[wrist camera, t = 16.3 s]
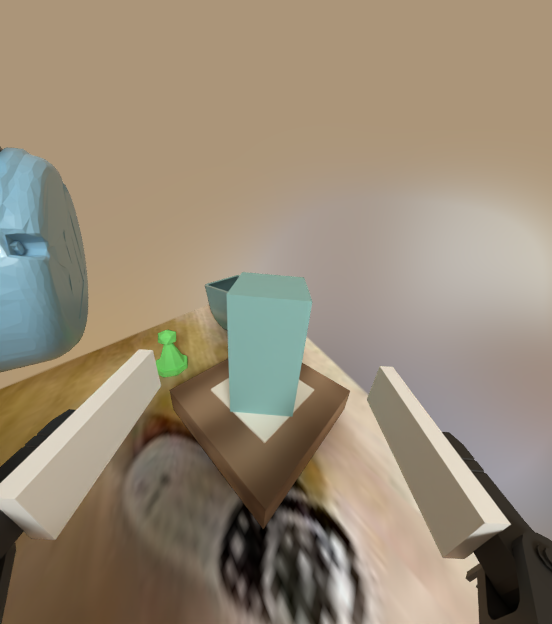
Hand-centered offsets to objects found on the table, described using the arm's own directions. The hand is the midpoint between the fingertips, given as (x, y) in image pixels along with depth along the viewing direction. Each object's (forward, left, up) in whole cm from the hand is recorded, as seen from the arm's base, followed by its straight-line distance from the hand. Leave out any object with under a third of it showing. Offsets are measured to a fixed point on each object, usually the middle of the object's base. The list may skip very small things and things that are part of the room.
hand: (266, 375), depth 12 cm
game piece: (-19, +1, -12) cm, 22 cm away
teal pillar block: (-5, +5, -9) cm, 11 cm away
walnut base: (-5, +5, -12) cm, 14 cm away
